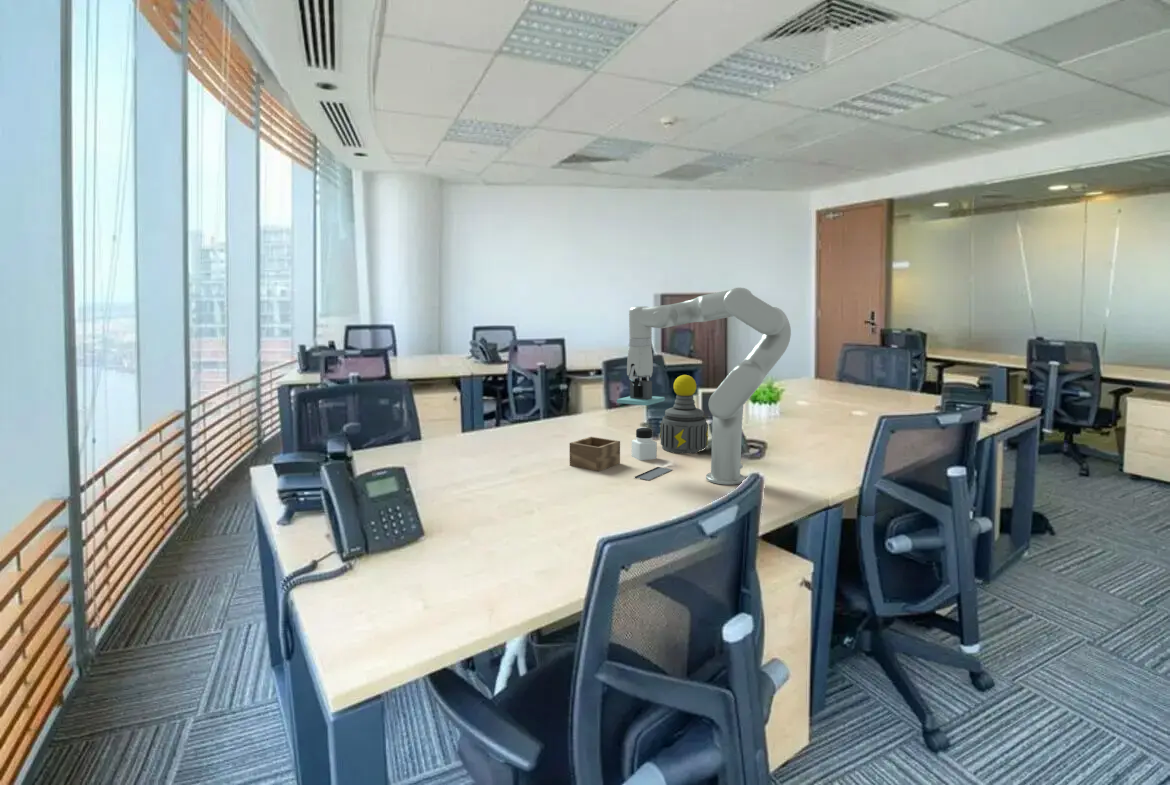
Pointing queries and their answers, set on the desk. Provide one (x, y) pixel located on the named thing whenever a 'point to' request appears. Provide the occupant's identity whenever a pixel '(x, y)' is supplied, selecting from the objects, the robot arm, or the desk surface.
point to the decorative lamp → (684, 421)
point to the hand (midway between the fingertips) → (641, 396)
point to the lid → (647, 395)
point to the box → (594, 453)
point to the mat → (653, 473)
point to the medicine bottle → (644, 445)
